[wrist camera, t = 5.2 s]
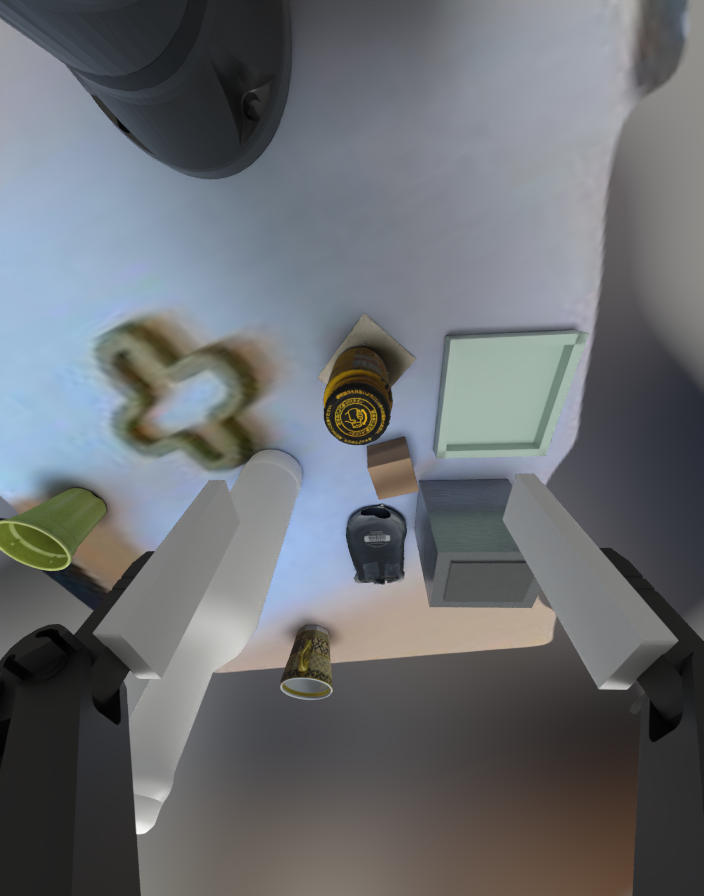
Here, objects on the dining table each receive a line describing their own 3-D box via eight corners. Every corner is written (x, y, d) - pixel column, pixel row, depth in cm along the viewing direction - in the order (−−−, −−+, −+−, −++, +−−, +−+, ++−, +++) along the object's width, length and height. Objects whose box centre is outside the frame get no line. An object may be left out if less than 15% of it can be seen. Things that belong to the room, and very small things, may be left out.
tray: (445, 336, 30) (450, 339, 28) (575, 329, 29) (589, 333, 27) (433, 449, 37) (436, 458, 35) (536, 447, 36) (545, 455, 34)
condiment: (317, 377, 33) (295, 423, 22) (363, 313, 29) (363, 333, 19) (366, 413, 35) (367, 471, 24) (415, 358, 31) (441, 398, 21)
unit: (418, 480, 40) (438, 554, 29) (507, 479, 39) (560, 553, 28) (414, 532, 45) (429, 610, 34) (492, 532, 44) (531, 611, 34)
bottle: (260, 497, 42) (99, 838, 17) (237, 454, 38) (-20, 812, 13) (311, 489, 41) (222, 842, 15) (292, 443, 37) (132, 815, 12)
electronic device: (407, 557, 51) (406, 503, 41) (407, 589, 47) (405, 536, 37) (356, 554, 53) (343, 501, 43) (352, 584, 48) (337, 533, 39)
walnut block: (367, 446, 37) (367, 468, 33) (404, 436, 36) (410, 457, 32) (377, 475, 40) (378, 499, 35) (413, 467, 39) (418, 491, 34)
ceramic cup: (339, 644, 64) (335, 700, 56) (295, 644, 65) (285, 699, 57) (332, 612, 58) (326, 670, 49) (284, 612, 58) (270, 670, 50)
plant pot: (67, 520, 46) (10, 566, 39) (42, 474, 42) (-28, 517, 34) (125, 527, 47) (80, 574, 39) (107, 482, 42) (52, 527, 34)
